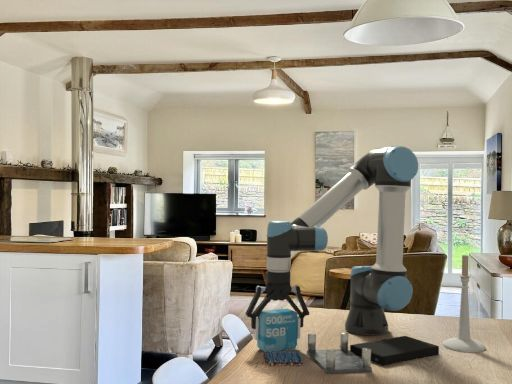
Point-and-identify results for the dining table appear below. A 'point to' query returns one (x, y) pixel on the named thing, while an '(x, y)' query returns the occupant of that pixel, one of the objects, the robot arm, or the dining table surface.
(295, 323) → the data package
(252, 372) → the dining table surface
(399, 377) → the dining table surface
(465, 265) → the candlestick
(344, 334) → the chassis
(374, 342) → the external hard drive
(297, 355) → the woven mat
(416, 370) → the dining table surface
